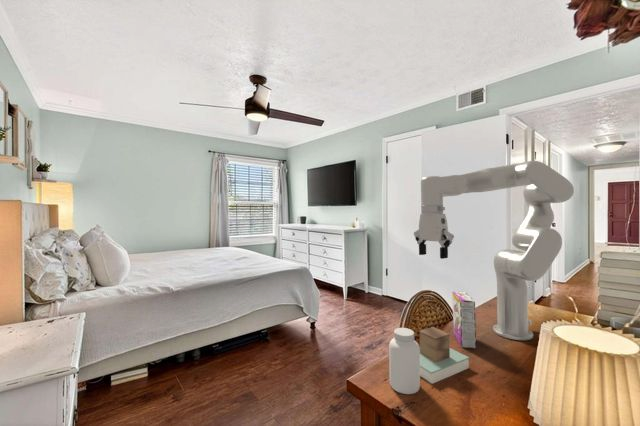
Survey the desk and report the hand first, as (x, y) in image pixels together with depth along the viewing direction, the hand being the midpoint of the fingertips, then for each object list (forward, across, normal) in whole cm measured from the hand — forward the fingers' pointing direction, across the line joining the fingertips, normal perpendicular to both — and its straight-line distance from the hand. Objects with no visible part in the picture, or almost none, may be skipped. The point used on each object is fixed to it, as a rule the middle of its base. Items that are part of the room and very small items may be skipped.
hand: (432, 256), depth 105 cm
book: (+31, -13, +15) cm, 37 cm away
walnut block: (+27, -13, +15) cm, 34 cm away
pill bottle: (+31, -16, +30) cm, 46 cm away
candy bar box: (+31, -7, -7) cm, 32 cm away
